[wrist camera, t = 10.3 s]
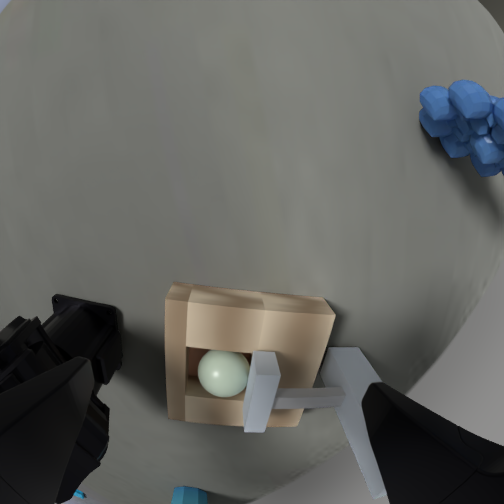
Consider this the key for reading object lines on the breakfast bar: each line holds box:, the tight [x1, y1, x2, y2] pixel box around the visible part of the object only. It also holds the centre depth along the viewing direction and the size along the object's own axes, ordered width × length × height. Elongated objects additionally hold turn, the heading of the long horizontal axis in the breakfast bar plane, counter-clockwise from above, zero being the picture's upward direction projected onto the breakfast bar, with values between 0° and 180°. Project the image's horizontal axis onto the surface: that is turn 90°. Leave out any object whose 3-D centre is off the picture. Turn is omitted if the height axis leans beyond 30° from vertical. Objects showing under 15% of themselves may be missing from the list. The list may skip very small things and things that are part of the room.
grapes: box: [419, 80, 504, 177], centre depth 13 cm, size 12×7×12 cm, turn 64°
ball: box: [198, 350, 250, 397], centre depth 20 cm, size 4×4×4 cm
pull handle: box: [242, 347, 387, 499], centre depth 16 cm, size 10×6×14 cm, turn 82°
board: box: [165, 282, 336, 427], centre depth 21 cm, size 12×12×3 cm
